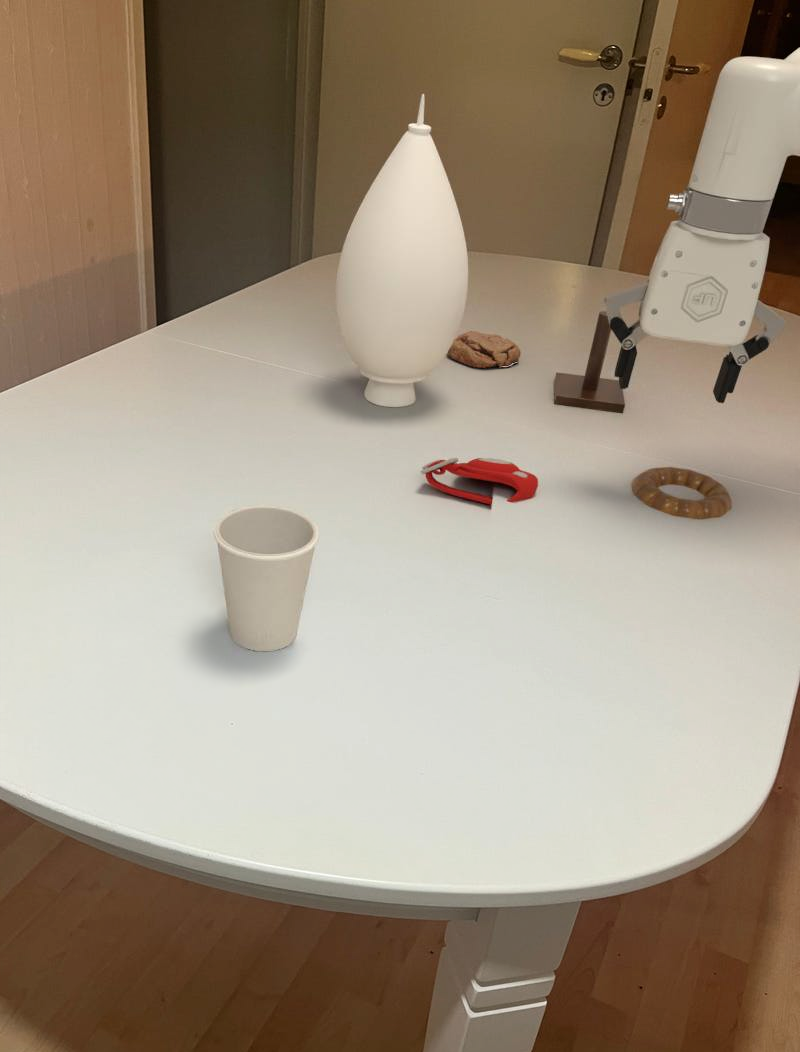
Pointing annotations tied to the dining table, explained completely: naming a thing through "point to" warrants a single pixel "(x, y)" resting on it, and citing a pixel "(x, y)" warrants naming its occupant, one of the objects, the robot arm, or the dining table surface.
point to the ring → (653, 497)
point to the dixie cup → (265, 572)
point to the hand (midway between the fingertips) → (670, 391)
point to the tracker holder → (483, 477)
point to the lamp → (403, 272)
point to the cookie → (484, 350)
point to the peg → (592, 378)
